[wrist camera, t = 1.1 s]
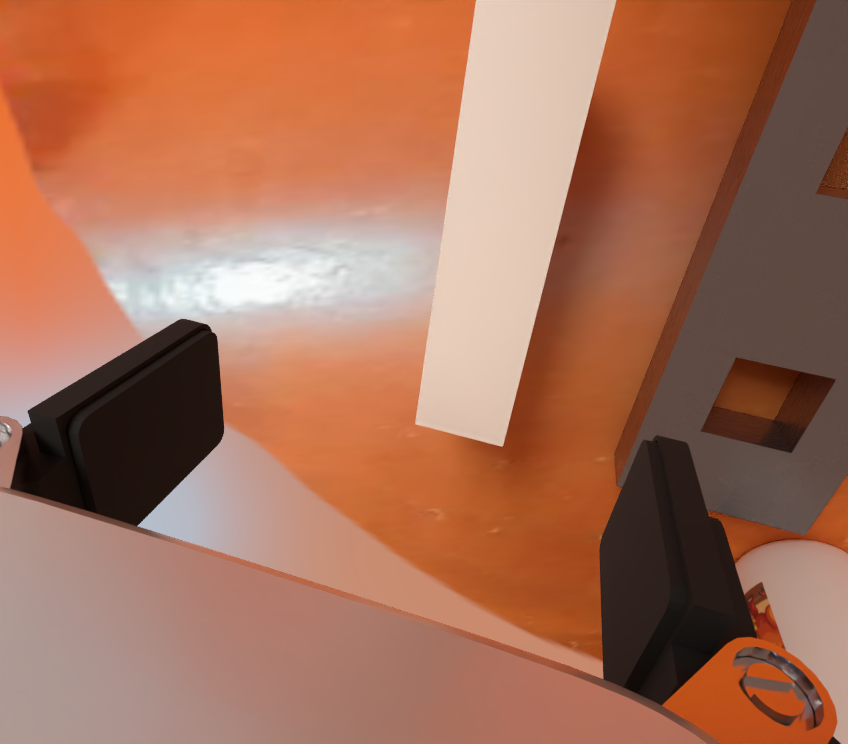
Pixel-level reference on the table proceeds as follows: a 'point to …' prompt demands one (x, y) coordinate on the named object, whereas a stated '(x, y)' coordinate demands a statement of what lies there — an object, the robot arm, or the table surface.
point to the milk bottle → (803, 609)
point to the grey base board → (766, 297)
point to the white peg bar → (506, 202)
